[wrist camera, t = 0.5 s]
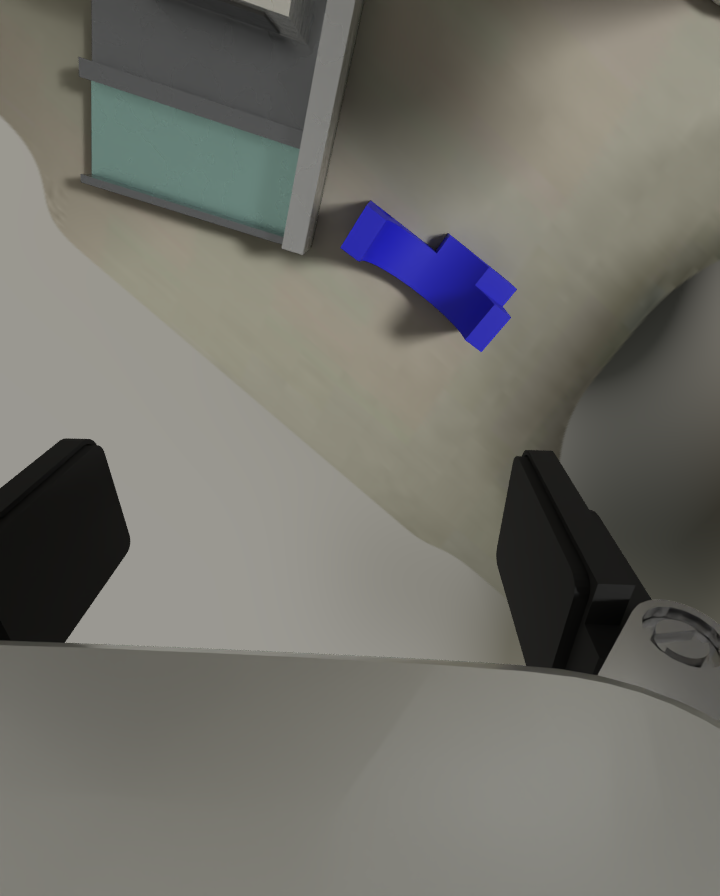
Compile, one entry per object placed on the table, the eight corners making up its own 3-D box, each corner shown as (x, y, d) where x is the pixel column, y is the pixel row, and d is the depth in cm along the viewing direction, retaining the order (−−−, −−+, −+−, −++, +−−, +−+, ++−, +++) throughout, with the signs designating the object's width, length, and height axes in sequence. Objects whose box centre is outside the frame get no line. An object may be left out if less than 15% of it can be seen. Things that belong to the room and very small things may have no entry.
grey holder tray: (100, -130, 27) (15, -218, 21) (370, -30, 28) (364, -86, 22) (100, 181, 35) (38, 183, 29) (311, 247, 36) (294, 262, 30)
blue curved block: (508, 281, 37) (527, 299, 32) (469, 328, 39) (481, 352, 34) (382, 180, 34) (380, 182, 29) (347, 236, 36) (340, 247, 31)
